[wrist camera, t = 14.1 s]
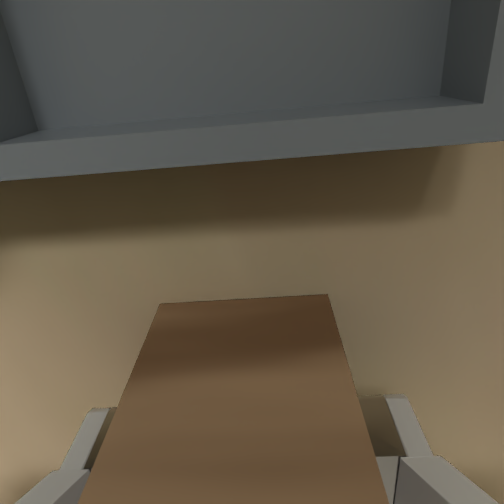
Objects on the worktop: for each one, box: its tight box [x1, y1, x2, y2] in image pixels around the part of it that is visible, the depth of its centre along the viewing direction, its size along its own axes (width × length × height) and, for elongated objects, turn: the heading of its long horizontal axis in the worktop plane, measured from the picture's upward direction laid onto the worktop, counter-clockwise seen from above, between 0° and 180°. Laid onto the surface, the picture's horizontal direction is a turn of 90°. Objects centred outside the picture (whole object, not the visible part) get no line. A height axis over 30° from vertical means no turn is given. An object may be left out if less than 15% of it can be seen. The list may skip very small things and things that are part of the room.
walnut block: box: [78, 294, 389, 504], centre depth 9 cm, size 4×4×6 cm
